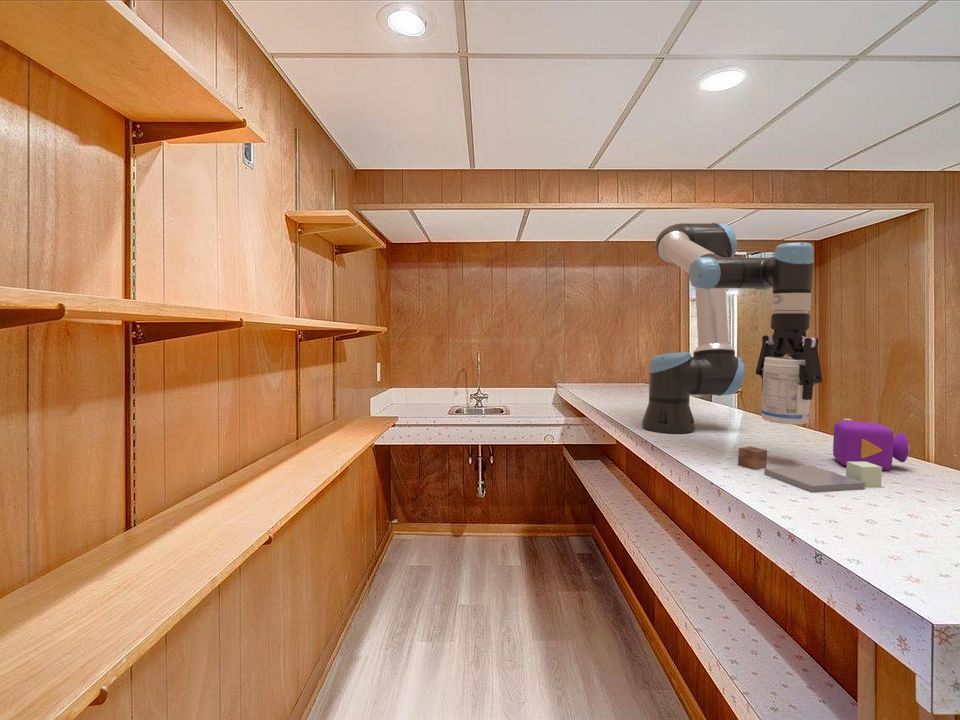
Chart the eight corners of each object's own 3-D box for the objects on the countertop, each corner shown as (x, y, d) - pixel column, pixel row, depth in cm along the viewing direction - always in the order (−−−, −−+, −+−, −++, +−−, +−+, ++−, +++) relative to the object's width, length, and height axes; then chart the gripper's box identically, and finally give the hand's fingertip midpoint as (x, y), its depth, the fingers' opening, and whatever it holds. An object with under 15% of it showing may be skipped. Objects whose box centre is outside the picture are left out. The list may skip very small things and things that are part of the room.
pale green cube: (845, 480, 103) (846, 461, 103) (865, 480, 103) (866, 461, 103) (860, 487, 99) (861, 466, 99) (880, 487, 99) (882, 467, 99)
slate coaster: (764, 474, 107) (764, 468, 107) (812, 471, 109) (812, 466, 109) (811, 492, 95) (811, 486, 95) (864, 488, 98) (864, 482, 98)
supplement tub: (774, 415, 124) (778, 355, 122) (816, 422, 116) (821, 358, 114) (752, 419, 119) (755, 357, 117) (794, 427, 111) (798, 360, 109)
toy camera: (919, 474, 108) (922, 428, 107) (847, 470, 111) (849, 425, 110) (889, 461, 119) (891, 419, 118) (824, 458, 121) (826, 416, 121)
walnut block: (738, 465, 114) (738, 448, 114) (749, 463, 116) (750, 446, 116) (754, 470, 111) (755, 452, 110) (766, 467, 112) (767, 450, 112)
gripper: (741, 312, 125) (737, 402, 127) (817, 312, 103) (810, 419, 105) (768, 312, 127) (763, 401, 129) (848, 312, 105) (840, 418, 107)
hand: (784, 409), depth 117 cm, fingers closed on supplement tub, 9 cm apart
